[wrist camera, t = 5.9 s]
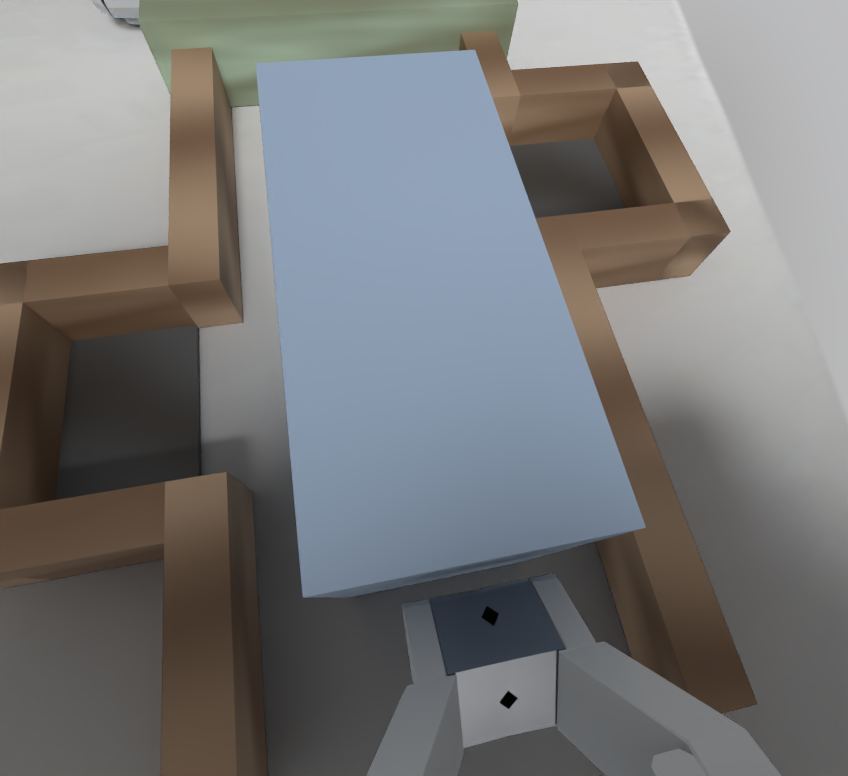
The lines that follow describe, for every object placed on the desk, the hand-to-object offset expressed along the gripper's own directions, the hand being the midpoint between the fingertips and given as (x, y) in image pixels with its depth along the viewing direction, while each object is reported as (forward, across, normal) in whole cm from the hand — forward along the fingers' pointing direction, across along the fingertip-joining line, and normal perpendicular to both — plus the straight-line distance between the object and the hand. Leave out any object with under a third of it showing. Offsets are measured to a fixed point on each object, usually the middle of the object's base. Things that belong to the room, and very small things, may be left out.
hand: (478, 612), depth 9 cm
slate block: (+8, 0, -1) cm, 8 cm away
